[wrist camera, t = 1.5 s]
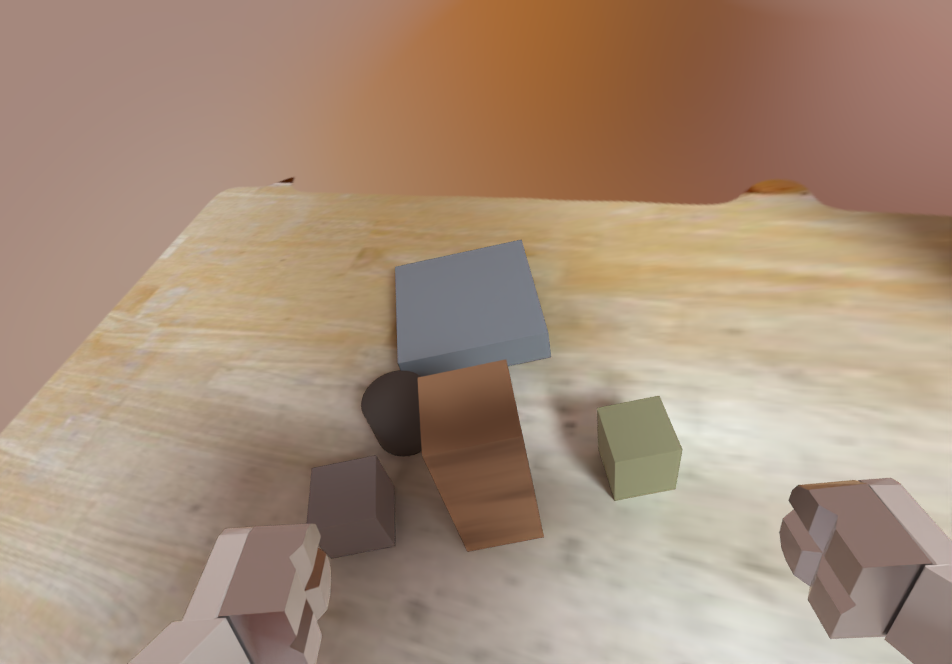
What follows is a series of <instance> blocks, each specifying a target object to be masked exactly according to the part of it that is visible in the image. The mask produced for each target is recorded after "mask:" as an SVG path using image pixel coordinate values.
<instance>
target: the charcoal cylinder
mask: <svg viewBox="0 0 952 664" xmlns="http://www.w3.org/2000/svg"><path fill="white" fill-rule="evenodd" d="M418 377H421V376H420V375H418V374H416V373H414V372H411V371H394V372H390V373H387V374H385V375H383V376H381V377H379V378H378V379H376V380H375V381H374V382H373V383H372V384H371V385H370V386H369V387H368V388H367V390H366V391H365V393H364V395H363V398H362V403H361V407H362V412H363V414H364V416H365V418H366V420H367V421H368V423H369V425H370V427H371V429H372V430H373V432H374V434H375V436H376V438H377V439H378V441H379V443H380V445H381V446H382V448H383V449H384V450H386V451H387V452H388V453H390V454H393V455H397V456H409V455H414V454H417V453H419V452H421V451H422V447H421V430H420V413H419V395H418Z"/></svg>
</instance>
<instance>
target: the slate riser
mask: <svg viewBox="0 0 952 664" xmlns="http://www.w3.org/2000/svg"><path fill="white" fill-rule="evenodd" d="M395 281H396V316H397V352H398V365H399V367H400V370H401V371H411V372H414V373H416V374H418V375H420V376H421V377H423V376H428V375H433V374H438V373H442V372H447V371H452V370H457V369H462V368H467V367H471V366H476V365H481V364H486V363H491V362H496V361H500V360H505V359H506V360H507V365H508V366H510V365H515V364H520V363H525V362H530V361H535V360H540V359H544V358H549V357H551V352H550V344H549V335H548V330H547V327H546V323H545V320H544V316H543V313H542V309H541V306H540V302H539V299H538V295H537V292H536V288H535V285H534V282H533V278H532V275H531V271H530V268H529V264H528V261H527V257H526V254H525V250H524V247H523V243H522V240H517V241H513V242H508V243H503V244H499V245H494V246H490V247H485V248H480V249H476V250H471V251H466V252H462V253H457V254H452V255H448V256H443V257H439V258H434V259H429V260H425V261H420V262H415V263H411V264H406V265H401V266H397V267H395Z"/></svg>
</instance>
